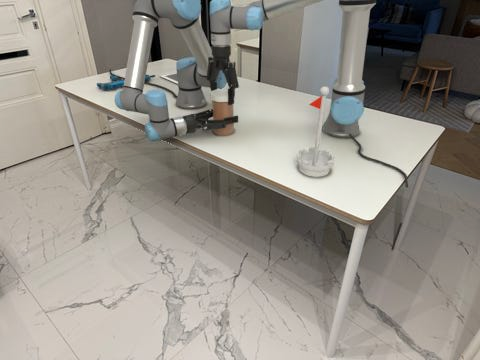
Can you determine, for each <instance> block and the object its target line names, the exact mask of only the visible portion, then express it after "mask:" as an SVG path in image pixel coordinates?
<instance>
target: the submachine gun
mask: <svg viewBox="0 0 480 360" xmlns="http://www.w3.org/2000/svg"><path fill="white" fill-rule="evenodd" d="M117 76H118V74H115V75H109V79H110V80H111V81H110V82H103V83H102V82H96V87H97V88H99V89H100V90H101V91H105V90H112V89H113V90H117V88H120V87H121V88H122V87H123V86H124V80H125V79H121V78H118V77H117ZM152 78H156V74H152V75H149V74H146V77H145V82H149V81H150V80H151V79H152Z"/></svg>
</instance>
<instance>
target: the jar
mask: <svg viewBox="0 0 480 360" xmlns="http://www.w3.org/2000/svg"><path fill="white" fill-rule="evenodd" d="M211 109H212V110H213V117H212V120H224V118H229V117H233V116H234V104H232V105H228V102H216V101H213V100H211ZM234 125H235V123H232V124H228V125H226V128H221V129H213V133H214V134H215V135H217V136H228V135H229V136H230V135H232V134H233V133H234V131H235V128H234Z"/></svg>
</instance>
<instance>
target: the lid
mask: <svg viewBox="0 0 480 360" xmlns="http://www.w3.org/2000/svg"><path fill="white" fill-rule="evenodd" d="M228 89H229V88H222V89H216V90H213V91H211V90H210V95H209V96H210V97H209V98H210V100H211V101H212V100H213V101H216V102H228ZM235 98H236V96H235V97H234V99H235Z"/></svg>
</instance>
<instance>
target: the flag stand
mask: <svg viewBox="0 0 480 360" xmlns="http://www.w3.org/2000/svg"><path fill="white" fill-rule="evenodd" d="M319 94H320V96H319V97H318V98H316V99H315V100H314V101H312V102H311V103H309V104H308V105H309V106H311V107H314V108H316V109H318V110H319V113H318V119H317V127H316V133H315V134H316V135H315V143H314V146H309V148H308V149H305V148H304V147H303V148H301V149H299V150H298V153H296V163H297V165H298V171H299V172H300V173H302V174H304V175H306V176H309V177H314V178H315V177H317V178H320V177H325V176H326V175H328V174H329V173H330V170H331V168H333V166H334V164H335V155H334V154H333V153H331V154H330V150H328V149H326V148H322V149H321V150H320V146H321V145H320V144H321V138H322V137H321V136H322V130H323V125H324V117H325V116H324V115H325V109H326V101H327V96H328V95H329V94H330V88H329V87H328V86H322V87H321V88H320V89H319Z"/></svg>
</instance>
